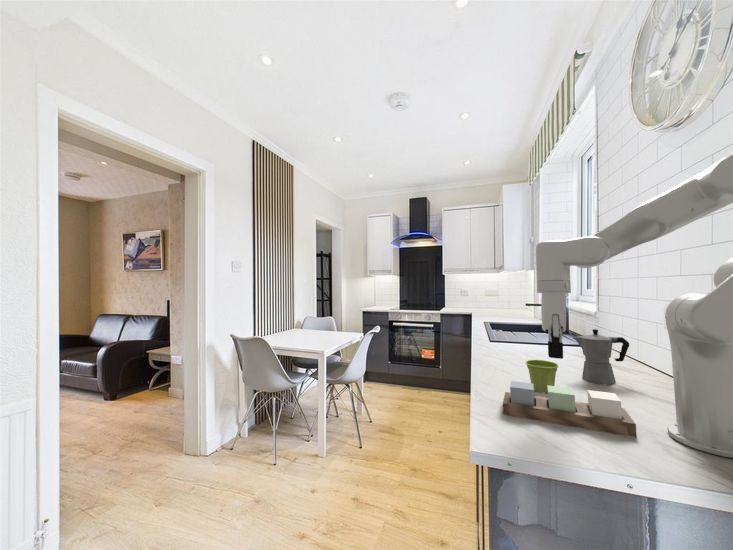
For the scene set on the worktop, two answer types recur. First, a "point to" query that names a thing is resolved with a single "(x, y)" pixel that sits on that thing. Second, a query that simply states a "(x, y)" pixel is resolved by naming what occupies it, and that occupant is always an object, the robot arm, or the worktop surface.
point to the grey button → (522, 393)
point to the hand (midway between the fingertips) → (555, 357)
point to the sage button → (561, 398)
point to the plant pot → (542, 374)
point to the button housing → (570, 416)
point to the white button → (604, 404)
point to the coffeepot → (599, 356)
